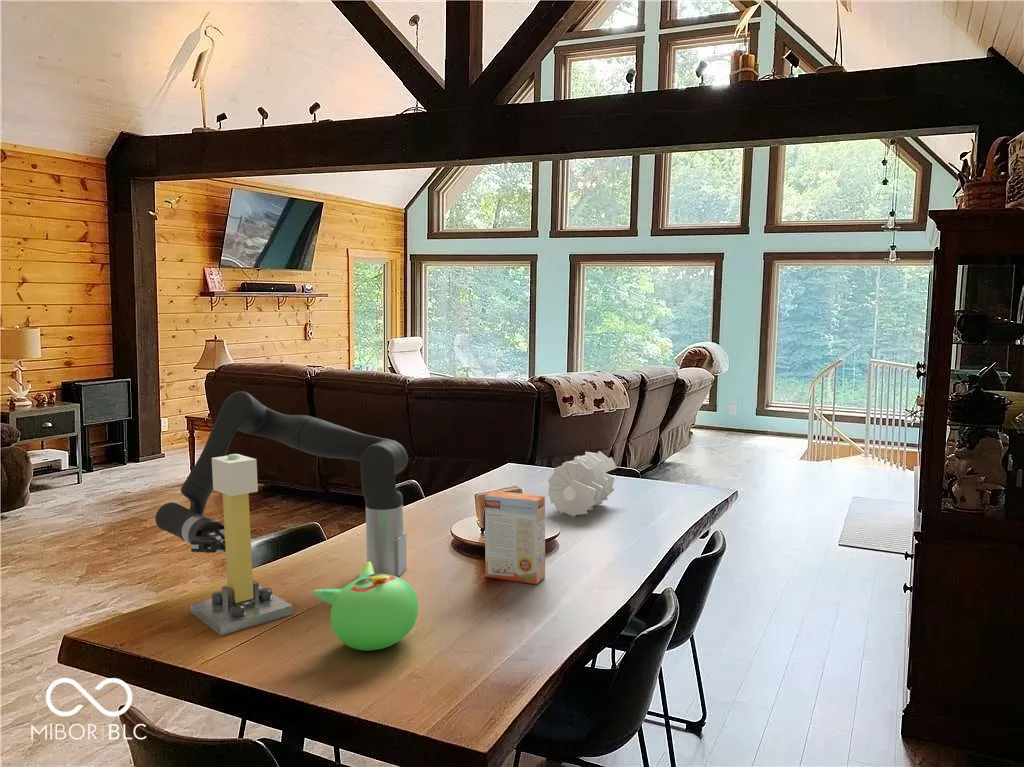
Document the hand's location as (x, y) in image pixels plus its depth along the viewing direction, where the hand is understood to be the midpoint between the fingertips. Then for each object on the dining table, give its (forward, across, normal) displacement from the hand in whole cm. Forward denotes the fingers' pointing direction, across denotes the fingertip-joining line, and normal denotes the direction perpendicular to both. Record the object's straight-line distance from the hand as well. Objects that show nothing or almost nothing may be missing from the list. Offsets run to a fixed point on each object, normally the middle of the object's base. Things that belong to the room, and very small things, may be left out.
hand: (234, 548), depth 172 cm
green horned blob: (+35, +13, +15) cm, 40 cm away
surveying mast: (+2, 0, +12) cm, 12 cm away
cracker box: (+27, +59, +15) cm, 67 cm away
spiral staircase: (-4, +118, +14) cm, 119 cm away
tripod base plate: (+2, 0, +14) cm, 14 cm away
